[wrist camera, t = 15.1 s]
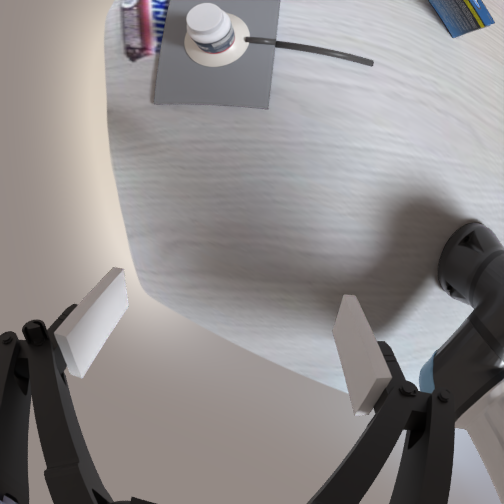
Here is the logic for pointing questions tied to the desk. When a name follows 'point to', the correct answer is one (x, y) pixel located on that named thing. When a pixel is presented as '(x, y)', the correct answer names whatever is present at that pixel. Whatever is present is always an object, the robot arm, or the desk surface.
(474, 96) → the desk surface
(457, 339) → the robot arm
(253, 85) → the board
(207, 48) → the pill bottle
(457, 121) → the desk surface
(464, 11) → the label tape cartridge
